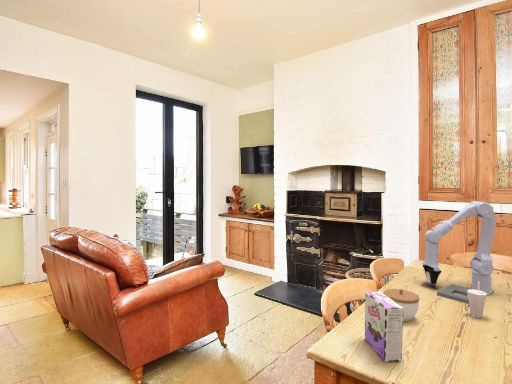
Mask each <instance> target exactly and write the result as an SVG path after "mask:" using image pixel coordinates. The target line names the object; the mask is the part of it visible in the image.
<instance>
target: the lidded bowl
mask: <svg viewBox="0 0 512 384" xmlns="http://www.w3.org/2000/svg"><path fill="white" fill-rule="evenodd" d="M383 293H384V294H385V295H386V296H388V297H389V298H390V299H392V300H393V301H394V302H396V303H397V304H398V305H400V306H402V307H403V322H409V321H410V320H411V319H413V318H414V317H415V316H416V315H417V314H418V310H419V303H420V302H419V301H420V296H419V295H418V294H417V293H416V292H413V291H409V290H406V289H402V288H389V289H388V288H387V289H385V290H384V291H383Z"/></svg>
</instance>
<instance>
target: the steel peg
mask: <svg viewBox="0 0 512 384" xmlns="http://www.w3.org/2000/svg"><path fill="white" fill-rule="evenodd" d="M425 280H426V281H425V283H426V286H427V287H432V288H435V287H436V285H437V283H436V284H431V281H430V274H429V271H427V272H426V274H425Z"/></svg>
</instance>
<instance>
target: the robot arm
mask: <svg viewBox="0 0 512 384" xmlns="http://www.w3.org/2000/svg"><path fill="white" fill-rule="evenodd" d="M471 216H472V217H474V216H477V217H478V218H479V219H480V220H481V226H480V232H479V237H478V243H477V244H478V245H477V248H476V252H475V253H474V255H473V257H472V259H470V261H469V266H470V268H471V269H472V270H471V289H475V290H478V281H480V287H479V290H480V291H483V292H486V294H487V296H489V295H491V294H492V293H493V292H495V291H494V289H492V281H493V279H492V276H491V274H493V272H494V266H493V259H492V257H491V254H492V248H493V247H492V246H493V241H494V238H495V237H494V236H495V231H496V226H497V219H498V218H497V217H496V214H495V211H494V207H493V206H492V205H491V204H490V203H488V202H486V201H478V200H472V201H471V202H470V203H467V204H466V205H465V206H464V207H463V208H462V209H460V210H459V211H458V212H456V213H455V214H454V215H453V216H452V217H450V218H449V219H448V220H447V219H446V220H440V221H439V222H438V224H436V226H434V227H431V229H429V230H427V231H425V233H424V235H423V236H424V239H425V256H424V257H425V259H424V262H422V267H423V269H424V273H425V275H426V272H427V271H429V274H430V281H431V284H436V285H437V282H438V280H439V279H438V278H439V277H440V275H441V273H442V270H440V264H439V253H440V251H439V250H440V246H439V244H440V242H441V241H442V238H443V237H444V236H446V235H447V234H449V233H450V232H451V231H453V230H454V226H455V225H456V224H458V223H460V222H461V221H462V220H465V219H466V218H467V217H471Z"/></svg>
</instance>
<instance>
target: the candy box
mask: <svg viewBox="0 0 512 384" xmlns="http://www.w3.org/2000/svg"><path fill="white" fill-rule="evenodd" d="M364 296H365V298H364V301H365V303H364V304H365V308H364V340H365V341H366V342H367V343H368V344H369V346H370V347H371V348H372V349H373V350H374V351H375V353H376V354H377V355H378V356H379V357H380V359H381V360H382V361H383V362H385V363H392V362H398V363H399V362H402V361H403V360H402V358H403V330H404V328H403V327H404V321H403V307H402V306H400V305H398V304H397V303H396V302H394V301H393V300H392V299H390V298H389V297H388V296H386V295H385V294H384V292H382V291H381V290H377V291H376V290H374V291H365V295H364Z"/></svg>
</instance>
